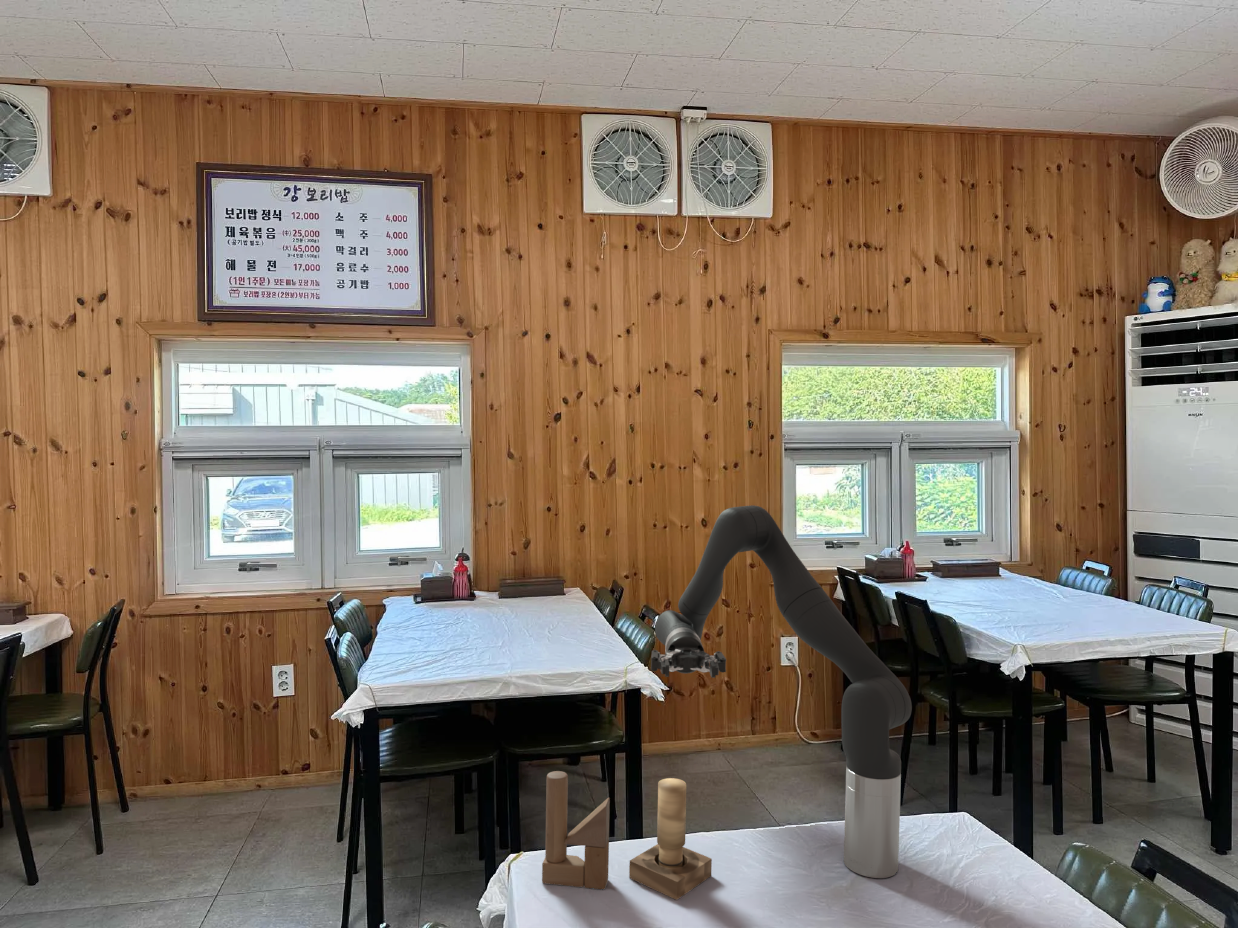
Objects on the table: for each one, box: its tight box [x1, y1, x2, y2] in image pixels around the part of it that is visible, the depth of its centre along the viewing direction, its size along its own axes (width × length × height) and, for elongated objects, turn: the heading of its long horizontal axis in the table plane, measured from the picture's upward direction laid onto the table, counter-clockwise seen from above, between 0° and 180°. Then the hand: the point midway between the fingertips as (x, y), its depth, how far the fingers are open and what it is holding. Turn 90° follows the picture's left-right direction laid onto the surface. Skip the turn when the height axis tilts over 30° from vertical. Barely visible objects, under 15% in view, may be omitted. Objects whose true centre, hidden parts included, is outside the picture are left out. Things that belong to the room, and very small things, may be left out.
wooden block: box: [541, 770, 611, 890], centre depth 138 cm, size 4×11×18 cm, turn 81°
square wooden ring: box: [628, 843, 713, 901], centre depth 140 cm, size 10×10×3 cm
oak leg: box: [656, 777, 687, 868], centre depth 140 cm, size 5×5×16 cm
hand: (690, 671), depth 151 cm, fingers open, 8 cm apart
